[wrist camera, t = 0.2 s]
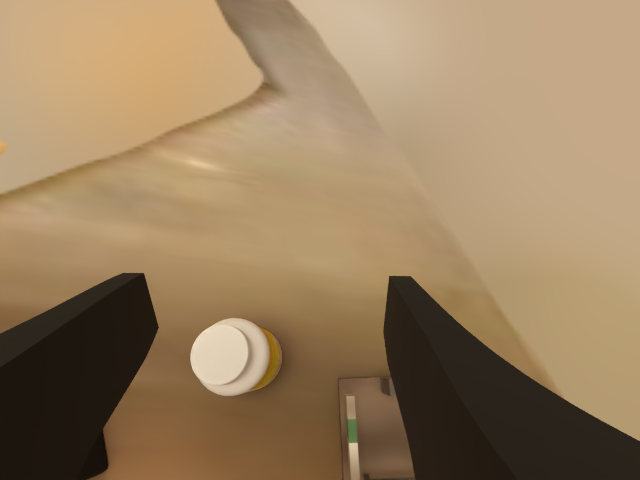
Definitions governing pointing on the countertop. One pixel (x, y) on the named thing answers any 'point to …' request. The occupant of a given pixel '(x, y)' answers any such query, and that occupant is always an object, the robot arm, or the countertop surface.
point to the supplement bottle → (235, 357)
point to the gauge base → (372, 430)
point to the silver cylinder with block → (387, 478)
